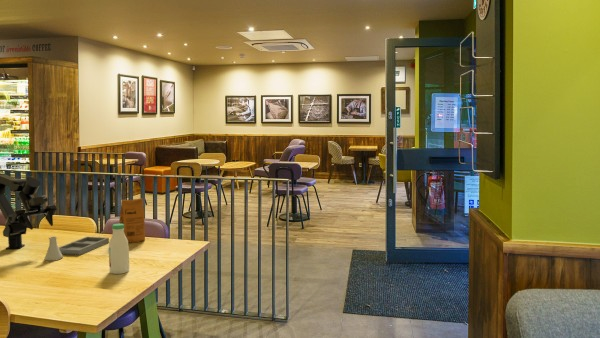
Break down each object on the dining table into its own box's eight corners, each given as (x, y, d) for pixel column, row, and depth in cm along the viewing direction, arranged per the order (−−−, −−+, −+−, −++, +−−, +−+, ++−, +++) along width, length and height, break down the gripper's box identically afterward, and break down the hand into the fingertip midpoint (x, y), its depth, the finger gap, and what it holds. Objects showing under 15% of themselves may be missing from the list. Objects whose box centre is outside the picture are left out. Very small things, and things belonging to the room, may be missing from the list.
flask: (55, 261, 213) (54, 239, 212) (41, 260, 214) (40, 238, 213) (66, 257, 220) (65, 235, 219) (52, 256, 221) (51, 235, 220)
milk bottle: (133, 269, 202) (131, 223, 200) (120, 275, 195) (119, 227, 193) (118, 267, 205) (116, 221, 203) (105, 273, 198) (103, 225, 195)
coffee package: (118, 240, 251) (116, 198, 249) (142, 237, 258) (141, 196, 255) (121, 244, 243) (120, 201, 241) (146, 241, 249) (145, 199, 247)
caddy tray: (55, 253, 225) (55, 248, 225) (87, 241, 248) (86, 236, 248) (79, 255, 223) (79, 250, 222) (109, 242, 246) (108, 237, 246)
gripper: (13, 192, 214) (27, 220, 209) (54, 187, 229) (68, 213, 224) (5, 208, 219) (19, 235, 214) (46, 202, 234) (59, 227, 230)
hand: (42, 227), depth 220 cm, fingers open, 9 cm apart
